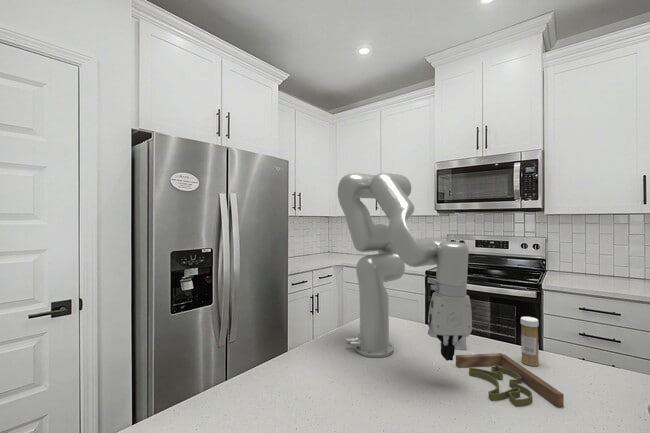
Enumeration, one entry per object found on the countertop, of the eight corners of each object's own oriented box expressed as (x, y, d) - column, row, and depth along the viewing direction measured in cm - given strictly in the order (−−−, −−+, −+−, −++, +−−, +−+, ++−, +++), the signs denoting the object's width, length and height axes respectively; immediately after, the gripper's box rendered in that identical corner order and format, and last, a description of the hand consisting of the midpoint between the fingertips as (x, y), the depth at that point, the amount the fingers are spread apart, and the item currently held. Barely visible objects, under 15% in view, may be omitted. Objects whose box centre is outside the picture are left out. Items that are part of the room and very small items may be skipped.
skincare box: (465, 345, 112) (464, 310, 112) (466, 350, 108) (465, 314, 108) (446, 343, 114) (446, 309, 114) (446, 348, 110) (446, 312, 110)
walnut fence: (502, 410, 74) (502, 397, 74) (455, 365, 97) (455, 355, 97) (563, 407, 76) (563, 394, 76) (502, 363, 98) (502, 353, 98)
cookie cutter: (465, 371, 94) (465, 364, 94) (507, 372, 94) (507, 365, 94) (494, 408, 76) (494, 399, 76) (547, 408, 76) (547, 400, 76)
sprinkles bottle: (541, 364, 97) (541, 318, 97) (534, 368, 95) (534, 321, 95) (525, 358, 101) (525, 315, 101) (518, 362, 99) (517, 317, 99)
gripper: (428, 293, 81) (424, 365, 82) (486, 293, 82) (482, 365, 83) (417, 285, 88) (414, 351, 89) (470, 285, 90) (467, 351, 91)
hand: (447, 357), depth 86 cm, fingers closed
